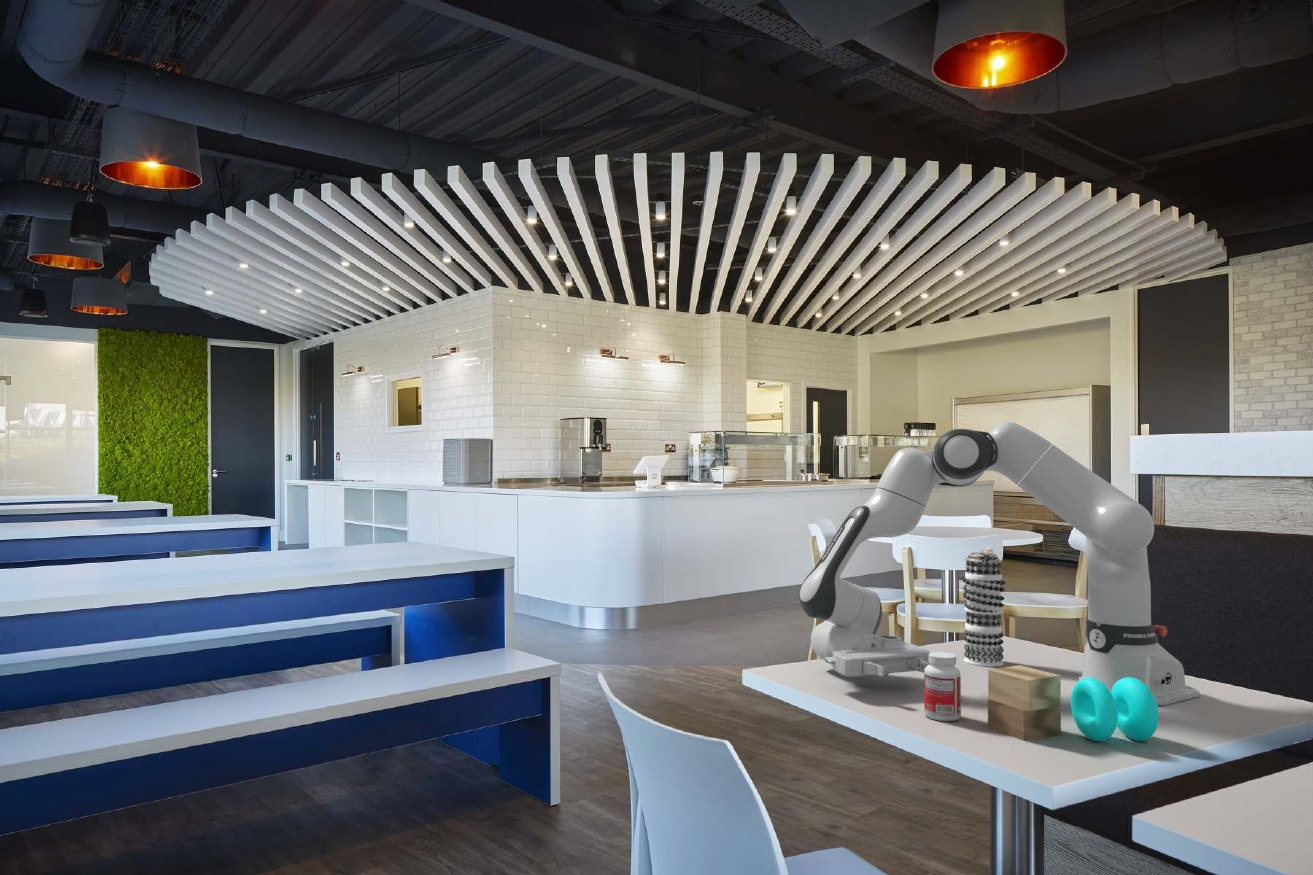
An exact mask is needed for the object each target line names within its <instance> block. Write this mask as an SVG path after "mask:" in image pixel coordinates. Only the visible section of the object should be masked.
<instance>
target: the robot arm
mask: <svg viewBox="0 0 1313 875" xmlns="http://www.w3.org/2000/svg"><path fill="white" fill-rule="evenodd" d="M986 471H990V472H991V471H992V472H996V473H998V474H1000V475H1003V476H1004V477H1006V478H1007V479H1008V480H1010V481H1011V482H1012V483H1014V484H1015V485H1017V486H1018V488H1020V489H1021V490H1023V491H1024V492H1026V493H1027V494H1029V496H1031V497H1032V498H1034V499H1035V500H1036V501H1037V502H1038V503H1041V504H1042V505H1043V506H1045V507H1046V508H1047V509H1049V511H1051V512H1053V513H1054V514H1056V515H1057V516H1058V517H1059V518H1061V519H1063V520H1064V521H1065V522H1066V523H1068V524H1069V525H1070V526H1072V527H1073V528H1074V529H1075V530H1077V531H1078V532H1080V533H1081V534H1082V535H1083V536H1085V549H1086V551H1085V553H1086V554H1085V555H1086V572H1087V574H1086V575H1087V618H1086V619H1085V625H1084V629H1085V637H1086V639H1087V642H1086V643H1085V645H1084V649H1083V650H1084V651H1083V658H1082V670H1081V676H1078V681H1079V680H1081V679H1083V678H1094V679H1097V680H1099V681H1101V682H1102V683H1103V684H1104V685H1105V686H1106V687H1107V688H1108V689H1109V690H1110V692H1111V690H1112V688H1113V686H1114V684H1115V683H1116V682H1117V681H1118V680H1120V679H1122V678H1126V677H1132V678H1136V679H1138V680H1140V681H1142V682H1143V683H1144V684H1145V685H1146V686H1147V687H1148V688H1149V689H1150V691H1151V692H1152V694H1153V696H1154V698H1155V700H1156V703H1157V706H1166V705H1169V704H1170V705H1171V704H1174V703H1177V702H1181V701H1186V700H1190V699H1193V698H1197V697H1199V696H1200V695H1201V694H1200V691H1199V689H1196V688H1195V687H1191V686H1189V685H1186V678H1185V670H1184V667H1183V664H1182V663H1181V661H1180V660H1178V659H1177V658H1175V657H1174V655H1172V654H1171V653H1170V652H1168V651H1167V650H1166V649H1165V648H1164V647H1163V646H1161V645H1160V643H1159V640H1158V635H1159V636H1161V637H1166V636H1167V634H1168V628H1167V626H1164V625H1159V624H1155V625H1153V624H1152V612H1151V611H1152V609H1151V608H1152V605H1151V604H1152V602H1151V601H1152V600H1151V599H1152V598H1151V595H1152V593H1151V589H1152V588H1151V586H1152V585H1151V580H1150V571H1149V570H1150V569H1149V563H1148V562H1149V560H1148V549H1147V547H1148V545H1149V544H1150V543H1151V541H1152V540H1153V538H1154V534H1155V523H1154V520H1153V519H1154V518H1153V516H1152V515H1151V514H1150V511H1148V509H1147V508H1146V507H1144V506H1143V505H1142V504H1140V503H1139V502H1138V501H1136V500H1135V499H1133V498H1132V497H1130V496H1129V495H1128V494H1126V493H1124V492H1123V491H1122V490H1120V489H1118V488H1117V487H1115V485H1113V484H1111V483H1110V482H1108V481H1106V479H1103V478H1102V477H1101V476H1100V475H1098V474H1096V473H1095V472H1093V471H1092V470H1090V469H1089V468H1087V467H1086V466H1084V465H1083V464H1082V463H1080V462H1079V461H1077V460H1076V459H1074V458H1073V457H1072V456H1071V455H1069V454H1068V453H1066V452H1064V451H1063V450H1061V449H1060V448H1059V447H1057V446H1056V445H1054V444H1053V443H1052V442H1050V441H1049V440H1047V439H1046V438H1044V437H1043V436H1041V435H1040V434H1038V433H1035V431H1032V430H1030V429H1028V428H1026V427H1025V426H1022V425H1020V424H1018V423H1015V422H1012V421H1006V422H1002V423H1000V424H998V425H996V426H995V427H993V428H992V429H991V430H990V431H989V432H987V431H981V430H974V429H968V428H957V429H952V430H951V429H950V430H949V431H947V432H945V433H944V434H942V435H941V436H940V437H939V438H938V439H937V441H936V443H935V445H934V447H933V449H931V450H922V449H919V448H914V447H907V448H906V447H905V448H901V449H899V450H897V452H896V453H895V454H894V455H893V456H892V458H891V459H890V461H889V463H888V464H887V465H886V467H885V469H884V470H883V473H882V474H881V477H880V478H879V481H878V483H877V486H876V488H875V490H874V491H873V494H872V495H871V496H870V498H869V499H868V500H867V501H865V503H864V504H863V505H861V506H860V505H859V506H856V507H855V508H854V509H852V510H851V511H850V512H849V513H848V515H847V516H846V518H845V519H844V521H843V522H842V523H841V525H840V527H839V528H838V529H837V531H836V533H835V535H834V536H833V538H832V540H831V541H830V543H829V545H828V546H827V547H826V549H825V551H824V552H823V554H822V556H821V557H820V559H819V561H818V563H817V564H816V565H815V567H813V569H812V570H811V572H809V573H808V575H807V576H806V578H805V579H804V580H803V582H802V584H801V585H800V588H799V592H798V598H799V602H800V605H801V608H802V609H803V611H804V613H805V615H806V616H807V617H809V618H813V619H816V620H820V621H823V622H821V623H819V624H817V625H816V626H815V627H813V629H812V631H811V634H810V644H811V647H812V649H813V651H814V652H815V655H816V656H817V657H819V658H820V659H821V660H822V661H824V662H825V663H827V664H830V665H831V666H832V669H833V671H835V672H837V673H838V674H840V675H842V676H844V677H850V678H851V677H853V678H854V677H860V678H864V679H869V678H870V679H871V678H873V677H875V676H879V677H888V676H889V674H895V673H906V672H908V673H909V672H920V673H923V674H924V670H925V668H926V667H927V666H928V665H930V663H929V653H931V652H930V651H929V650H928V649H926V648H924V647H921V646H919V645H915V644H914V643H910V642H906V641H903V638H902V637H898V636H890V635H878V634H877V632H878V631H879V628H880V626H881V623H882V619H883V606H882V603H881V599H880V597H879V595H878V594H877V593H876V592H875V591H874V590H871V589H868V588H865V587H863V586H861V585H858V584H855V583H852V582H851V581H848V580H845V579H843V578H841V575H842V574H843V572H844V570H845V569H846V567H847V565H848V563H849V562H850V561H851V558H852V557H853V555H854V554H855V552H856V550H857V549H858V548H859V546H860V545H861V544H862V543H864V542H865V541H867V540H869V539H875V538H896V537H900V536H905V535H906V534H909V533H910V532H912V531H913V530H914V529H915V528H916V527H917V525H918V524H919V522H920V521H921V518H922V516H923V514H924V511H925V509H926V507H927V504H928V501H929V499H930V498H931V494H932V492H933V491H934V489H936V486H948V487H949V486H950V487H954V488H955V487H966V486H969V485H972V484H973V483H975V482H976V481H977V480H979V479H980V478H981V476H982V475H983V474H984V472H986Z"/></svg>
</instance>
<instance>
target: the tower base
mask: <svg viewBox="0 0 1313 875" xmlns="http://www.w3.org/2000/svg"><path fill="white" fill-rule="evenodd" d="M1061 709H1062V707H1061V705H1060V706H1055V707H1050V708H1044V709H1039V710H1034V711H1026V710H1022V709H1019V708H1016V707H1013V706H1009V705H1006V704H1003V703H999V702H996V701H993V700H989V699H988V698H987V727H989V728H991V729H993V730H996V731H998V732H1000V733H1003V734H1006V735H1008V736H1011V737H1014V738H1016V739H1019V740H1020V741H1032V740H1033V741H1034V740H1040V739H1047V738H1056V737H1061V736H1062V734H1061V733H1062V732H1061V731H1062V729H1061V728H1062V727H1061V726H1062V725H1061V724H1062V722H1061V720H1062V717H1061V716H1062V715H1061V714H1062V713H1061Z"/></svg>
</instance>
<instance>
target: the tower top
mask: <svg viewBox="0 0 1313 875" xmlns="http://www.w3.org/2000/svg"><path fill="white" fill-rule="evenodd" d="M987 671H988V674H987V676H988V677H987V679H988V680H987V682H988V683H987V685H988V687H987V688H988V689H987V692H988V693H987V694H988V696H987V697H988V698H987V700H988V699H989V700H993V701H996V702H999V703H1003V704H1006V705H1009V706H1013V707H1016V708H1019V709H1022V710H1026V711H1034V710H1039V709H1044V708H1050V707H1055V706H1061V704H1062V702H1061V699H1062V698H1061V694H1062V693H1061V690H1062V689H1061V674H1058V673H1057V674H1056V673H1054V672H1053V673H1052V672H1049V671H1045V670H1041V669H1040V670H1039V669H1037V668H1033V667H1028V666H1025V665H1020V664H1019V665H1011V666H1005V667H999V668H993V669H988V670H987Z"/></svg>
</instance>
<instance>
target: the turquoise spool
mask: <svg viewBox="0 0 1313 875" xmlns="http://www.w3.org/2000/svg"><path fill="white" fill-rule="evenodd" d="M1070 708H1071V713H1072V717H1073V720H1074V723H1075V725H1076V726H1077V729H1078V730H1079V731H1080V732H1081V734H1082V735H1083V736H1085V737H1086V738H1087V739H1089V740H1091V741H1095V742H1104V741H1107V740H1108V739H1109V738H1111V737H1112V736H1113V735H1114V733H1115V731H1116V729H1119V731H1120V733H1122V734H1123V735H1124V736H1125V737H1127V738H1129V739H1131V740H1134V741H1137V742H1141V741H1146V740H1149V739H1150V738H1152V736H1153V735H1154V734H1155V733H1156V730H1157V728H1158V724H1159V716H1160V715H1159V708H1158V705H1157V703H1156V700H1155V698H1154V696H1153V694H1152V692H1151V691H1150V689H1149V688H1148V687H1147V686H1146V685H1145V684H1144V683H1143V682H1142V681H1140V680H1138V679H1136V678H1132V677H1126V678H1122V679H1120V680H1118V681H1117V682H1116V683H1115V684H1114V686H1113V688H1112V690H1111V692H1110V690H1109V689H1108V688H1107V687H1106V686H1105V685H1104V684H1103V683H1102V682H1101V681H1099V680H1097V679H1094V678H1083V679H1081V680H1079V679H1078V681H1077V682H1076V683H1075V684H1074V686H1073V688H1072V691H1071V696H1070Z"/></svg>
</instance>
